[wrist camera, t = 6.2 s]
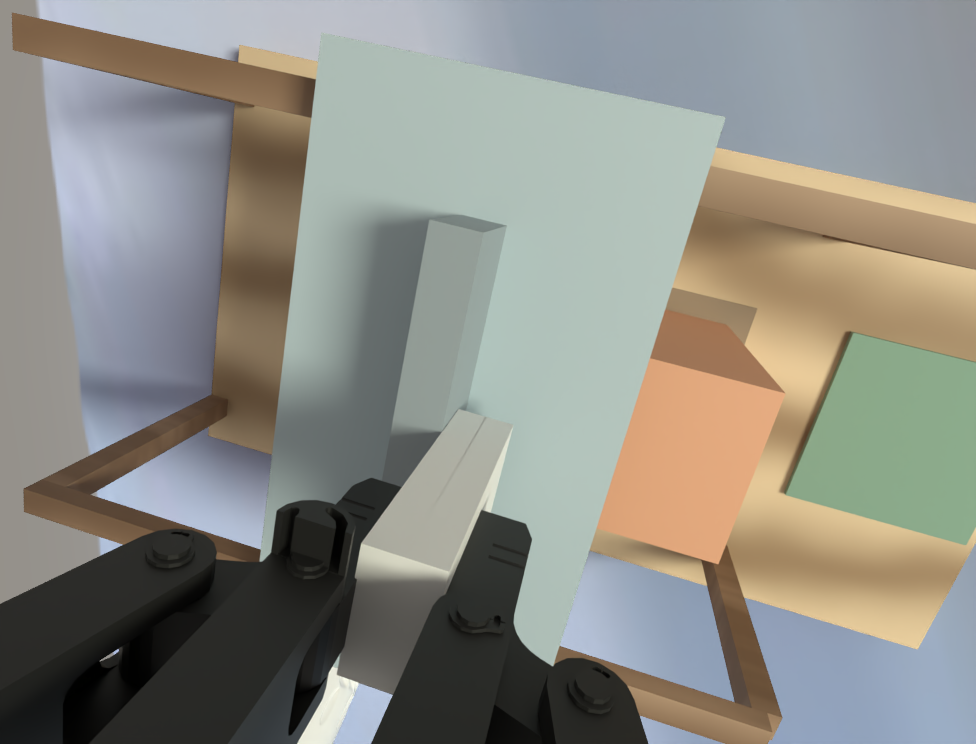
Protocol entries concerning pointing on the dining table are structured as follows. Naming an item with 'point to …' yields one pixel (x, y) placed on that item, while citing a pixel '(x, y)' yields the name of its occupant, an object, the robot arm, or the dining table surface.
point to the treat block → (691, 440)
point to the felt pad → (895, 440)
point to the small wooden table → (696, 292)
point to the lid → (480, 288)
